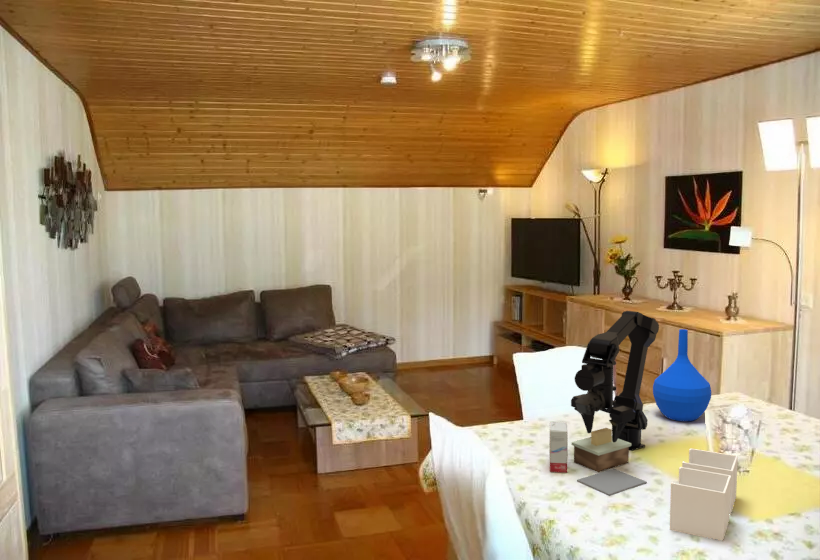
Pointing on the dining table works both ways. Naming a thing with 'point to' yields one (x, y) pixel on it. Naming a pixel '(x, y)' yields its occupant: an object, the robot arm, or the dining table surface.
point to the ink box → (558, 447)
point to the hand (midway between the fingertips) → (601, 437)
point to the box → (601, 459)
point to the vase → (682, 387)
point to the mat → (611, 481)
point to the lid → (601, 442)
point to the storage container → (704, 494)
